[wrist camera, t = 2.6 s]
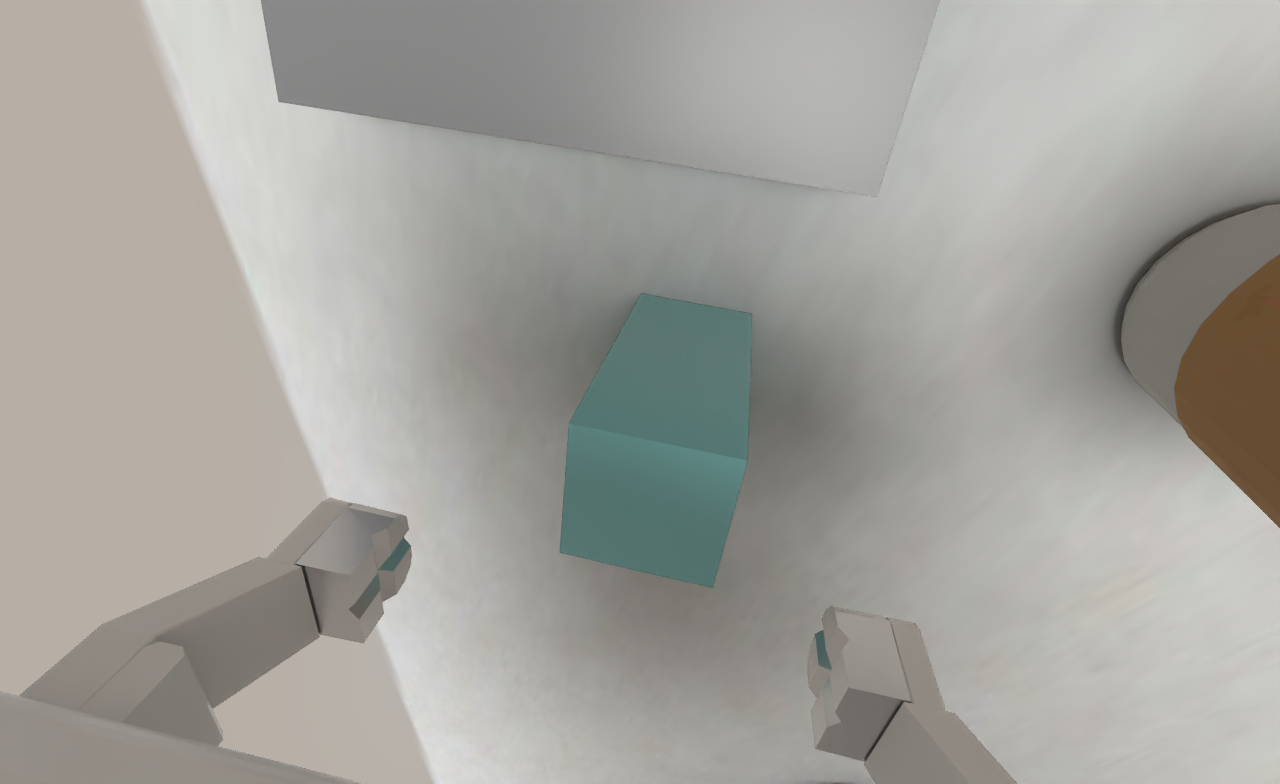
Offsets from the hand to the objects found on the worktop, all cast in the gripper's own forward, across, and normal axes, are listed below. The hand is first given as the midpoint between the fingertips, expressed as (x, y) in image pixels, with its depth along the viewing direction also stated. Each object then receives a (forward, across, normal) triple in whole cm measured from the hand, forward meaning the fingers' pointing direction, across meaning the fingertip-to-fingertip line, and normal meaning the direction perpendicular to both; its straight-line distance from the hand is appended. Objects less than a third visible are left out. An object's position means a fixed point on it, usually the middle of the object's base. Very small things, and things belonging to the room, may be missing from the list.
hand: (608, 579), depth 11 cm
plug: (+12, -1, +1) cm, 12 cm away
